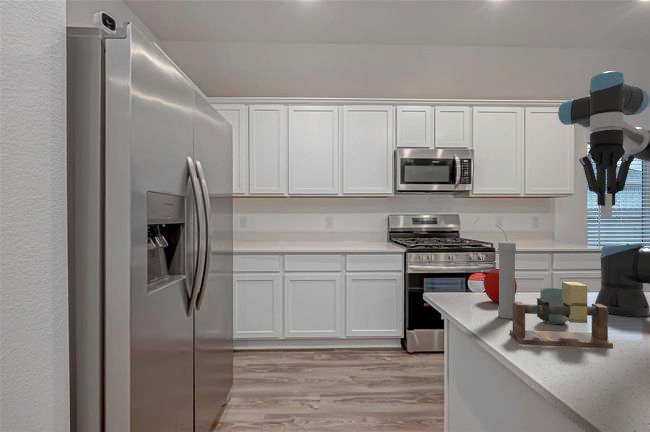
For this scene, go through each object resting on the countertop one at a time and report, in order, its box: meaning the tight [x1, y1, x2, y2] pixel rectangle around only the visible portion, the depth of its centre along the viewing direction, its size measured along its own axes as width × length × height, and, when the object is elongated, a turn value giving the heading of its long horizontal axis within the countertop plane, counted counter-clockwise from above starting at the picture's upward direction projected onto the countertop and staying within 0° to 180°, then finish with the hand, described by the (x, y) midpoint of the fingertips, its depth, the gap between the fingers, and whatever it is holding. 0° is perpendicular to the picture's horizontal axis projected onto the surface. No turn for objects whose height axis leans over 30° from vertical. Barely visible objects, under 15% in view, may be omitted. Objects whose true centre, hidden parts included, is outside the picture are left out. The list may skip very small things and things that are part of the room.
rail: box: [509, 301, 614, 348], centre depth 108 cm, size 22×9×10 cm, turn 81°
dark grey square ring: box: [536, 297, 549, 322], centre depth 108 cm, size 1×5×5 cm, turn 171°
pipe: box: [495, 224, 517, 320], centre depth 132 cm, size 6×6×30 cm
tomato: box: [483, 267, 518, 304], centre depth 153 cm, size 12×12×13 cm
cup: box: [539, 287, 568, 325], centre depth 125 cm, size 8×8×10 cm
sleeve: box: [561, 281, 588, 324], centre depth 107 cm, size 4×5×10 cm
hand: (606, 217), depth 110 cm, fingers closed
